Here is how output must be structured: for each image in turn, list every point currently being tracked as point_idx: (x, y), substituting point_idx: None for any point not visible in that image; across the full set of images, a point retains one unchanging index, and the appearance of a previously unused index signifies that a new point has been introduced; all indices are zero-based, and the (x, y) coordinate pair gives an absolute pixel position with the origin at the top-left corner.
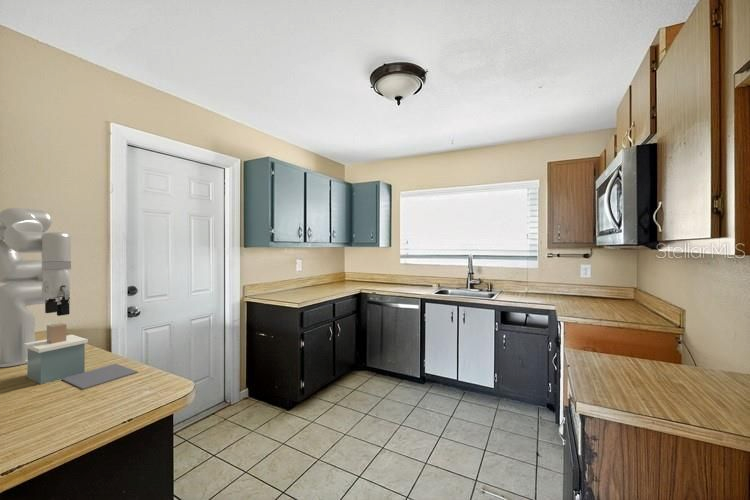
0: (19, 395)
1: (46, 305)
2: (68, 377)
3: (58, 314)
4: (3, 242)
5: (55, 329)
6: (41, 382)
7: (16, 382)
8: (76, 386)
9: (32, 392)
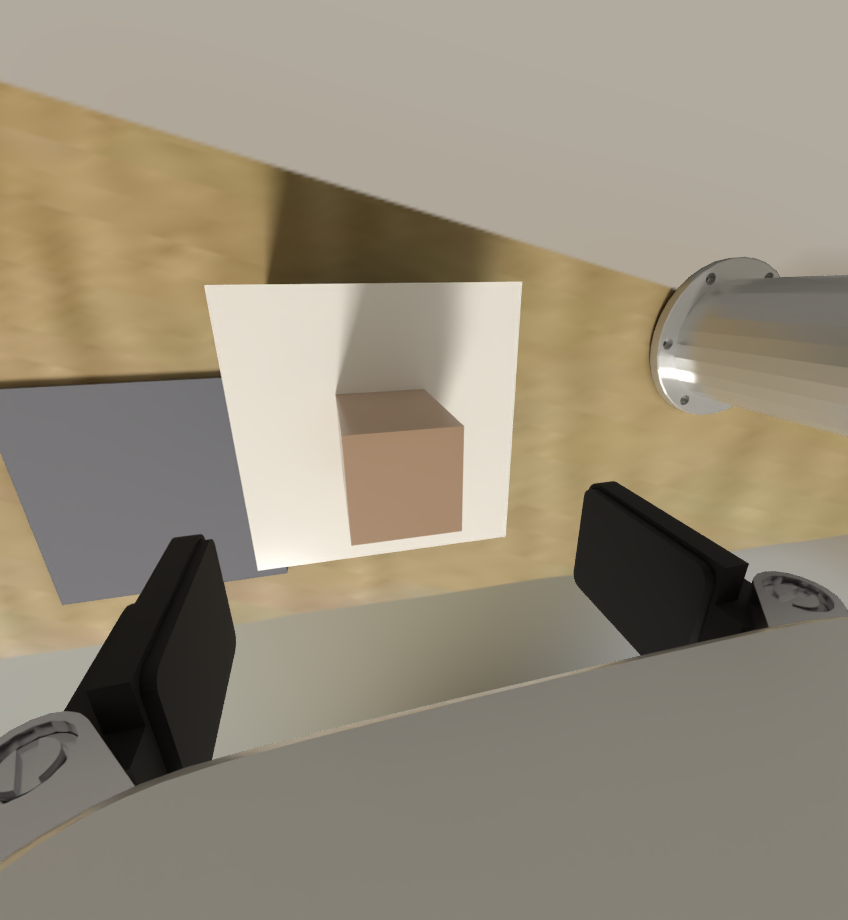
0: (156, 183)
1: (668, 544)
2: None
3: (168, 553)
4: None
5: (342, 454)
6: None
7: (401, 244)
8: (67, 385)
9: (155, 236)
